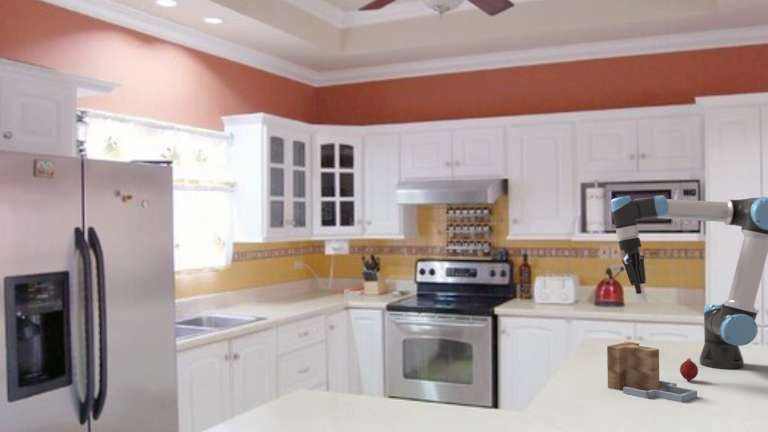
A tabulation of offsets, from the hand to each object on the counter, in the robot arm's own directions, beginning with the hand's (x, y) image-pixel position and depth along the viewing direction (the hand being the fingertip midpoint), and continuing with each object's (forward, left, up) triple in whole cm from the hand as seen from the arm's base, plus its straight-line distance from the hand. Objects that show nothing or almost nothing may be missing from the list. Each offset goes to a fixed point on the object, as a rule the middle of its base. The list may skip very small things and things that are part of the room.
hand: (642, 302), depth 257 cm
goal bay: (-5, +28, -26) cm, 39 cm away
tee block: (+3, +22, -26) cm, 35 cm away
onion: (-15, +7, -26) cm, 31 cm away
